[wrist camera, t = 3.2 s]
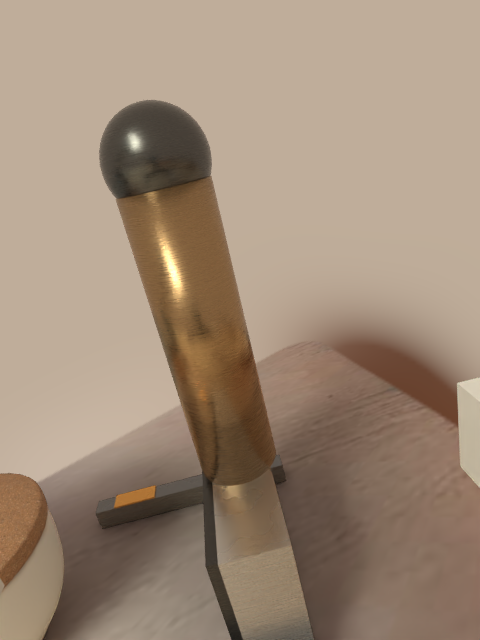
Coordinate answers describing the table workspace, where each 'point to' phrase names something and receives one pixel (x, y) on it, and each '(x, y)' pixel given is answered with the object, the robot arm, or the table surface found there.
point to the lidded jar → (27, 560)
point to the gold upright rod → (207, 361)
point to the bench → (161, 499)
